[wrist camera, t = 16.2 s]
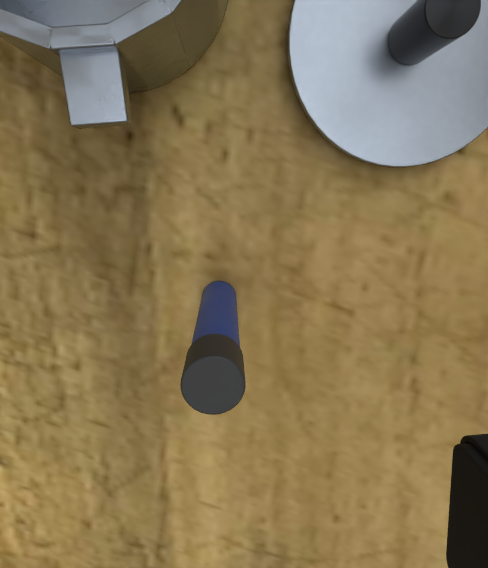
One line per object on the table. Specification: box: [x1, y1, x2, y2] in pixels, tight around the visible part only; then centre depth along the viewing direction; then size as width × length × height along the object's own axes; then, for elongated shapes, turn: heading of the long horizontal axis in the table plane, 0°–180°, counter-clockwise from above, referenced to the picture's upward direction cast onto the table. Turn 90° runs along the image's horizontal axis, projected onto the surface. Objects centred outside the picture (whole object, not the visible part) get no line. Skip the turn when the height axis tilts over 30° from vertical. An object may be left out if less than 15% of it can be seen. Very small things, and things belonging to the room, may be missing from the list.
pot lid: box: [287, 0, 488, 167], centre depth 22 cm, size 14×14×6 cm
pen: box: [181, 281, 245, 414], centre depth 21 cm, size 2×2×12 cm
